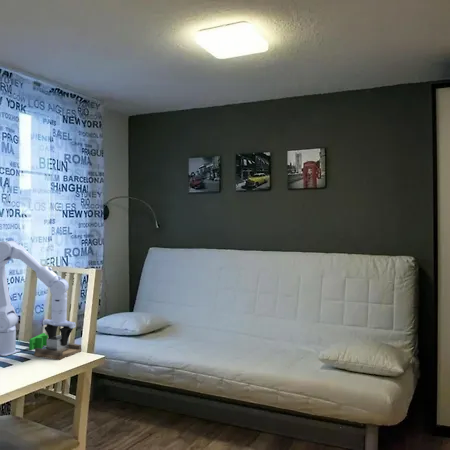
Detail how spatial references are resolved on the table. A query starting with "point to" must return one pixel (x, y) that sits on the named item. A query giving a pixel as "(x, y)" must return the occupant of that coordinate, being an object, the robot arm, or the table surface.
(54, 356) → the board
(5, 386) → the table surface
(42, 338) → the pipe clamp
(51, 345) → the block
